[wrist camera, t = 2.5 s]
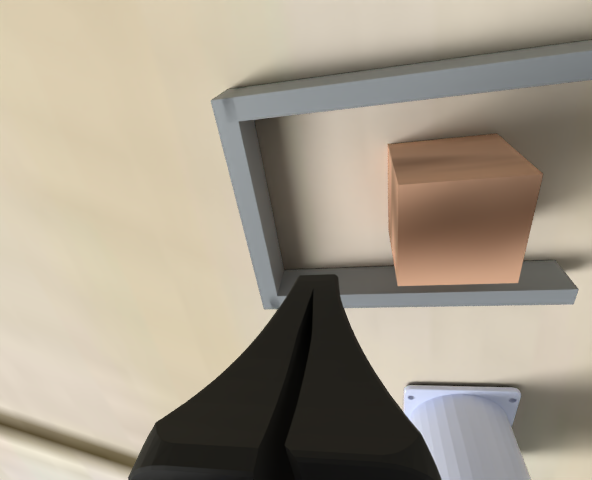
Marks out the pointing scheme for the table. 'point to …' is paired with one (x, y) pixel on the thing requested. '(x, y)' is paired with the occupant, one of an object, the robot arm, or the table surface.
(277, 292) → the grey u-shaped frame
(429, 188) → the cube
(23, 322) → the table surface
